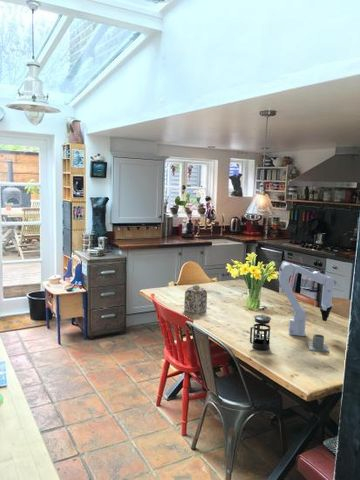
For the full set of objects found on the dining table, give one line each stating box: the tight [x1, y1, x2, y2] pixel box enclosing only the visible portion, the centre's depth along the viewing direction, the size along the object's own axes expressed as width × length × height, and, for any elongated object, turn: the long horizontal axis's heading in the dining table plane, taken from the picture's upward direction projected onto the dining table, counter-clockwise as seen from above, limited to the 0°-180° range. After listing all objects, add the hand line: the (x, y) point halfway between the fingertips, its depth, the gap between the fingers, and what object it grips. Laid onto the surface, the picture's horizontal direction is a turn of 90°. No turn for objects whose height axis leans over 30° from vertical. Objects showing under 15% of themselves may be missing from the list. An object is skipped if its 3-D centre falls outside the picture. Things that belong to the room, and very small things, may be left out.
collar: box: [312, 333, 325, 349], centre depth 221 cm, size 5×5×6 cm
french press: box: [249, 305, 272, 352], centre depth 219 cm, size 12×9×23 cm
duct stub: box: [307, 342, 330, 354], centre depth 221 cm, size 10×10×5 cm
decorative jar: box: [183, 284, 208, 315], centre depth 281 cm, size 12×12×18 cm
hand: (325, 319), depth 240 cm, fingers open, 7 cm apart
